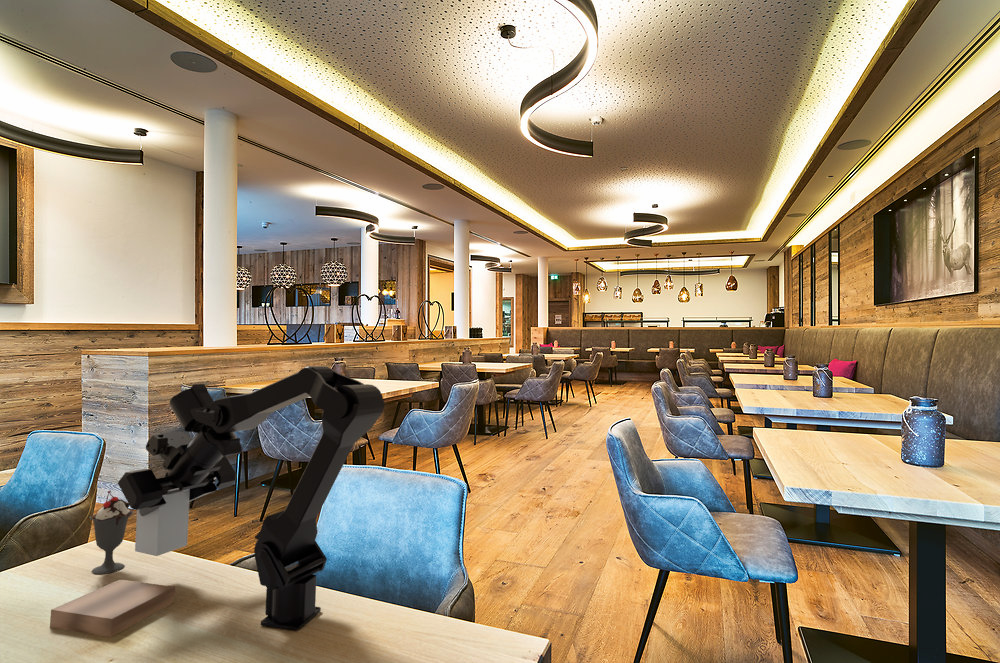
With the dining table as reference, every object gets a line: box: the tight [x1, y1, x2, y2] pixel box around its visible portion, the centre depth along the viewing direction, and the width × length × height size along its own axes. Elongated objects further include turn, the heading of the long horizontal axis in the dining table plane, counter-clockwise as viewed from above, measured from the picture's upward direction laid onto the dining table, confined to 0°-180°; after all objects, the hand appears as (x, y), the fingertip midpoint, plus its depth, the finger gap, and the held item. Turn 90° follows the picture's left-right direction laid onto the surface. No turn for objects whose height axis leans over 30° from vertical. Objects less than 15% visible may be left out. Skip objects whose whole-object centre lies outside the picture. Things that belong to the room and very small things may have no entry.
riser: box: [49, 579, 176, 638], centre depth 81 cm, size 11×11×3 cm
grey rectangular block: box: [134, 489, 190, 557], centre depth 93 cm, size 6×6×11 cm
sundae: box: [88, 490, 134, 575], centre depth 98 cm, size 7×7×15 cm
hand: (158, 509), depth 93 cm, fingers closed on grey rectangular block, 6 cm apart
